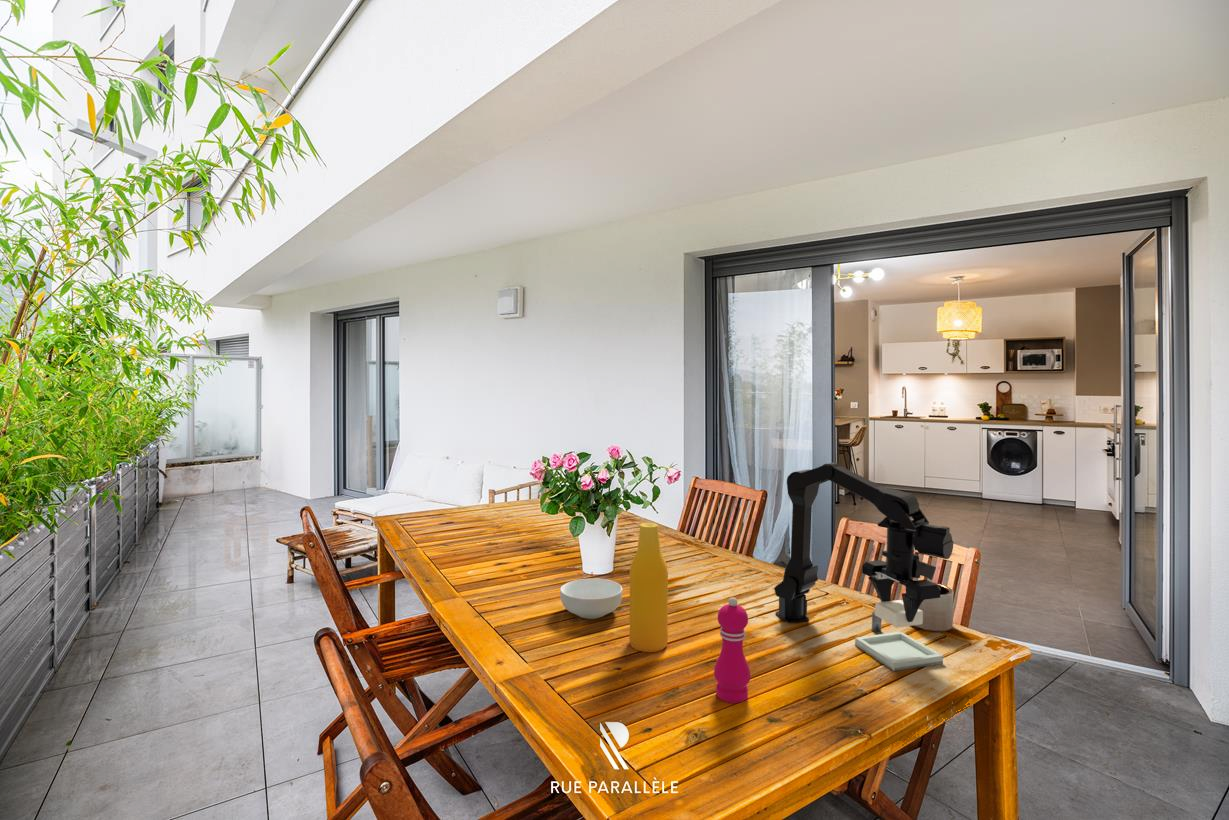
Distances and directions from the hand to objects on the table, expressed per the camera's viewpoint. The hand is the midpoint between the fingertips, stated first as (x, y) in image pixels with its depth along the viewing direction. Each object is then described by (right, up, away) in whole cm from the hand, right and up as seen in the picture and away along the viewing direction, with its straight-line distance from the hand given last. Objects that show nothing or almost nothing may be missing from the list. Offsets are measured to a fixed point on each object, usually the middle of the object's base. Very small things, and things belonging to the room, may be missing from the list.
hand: (898, 615), depth 137 cm
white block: (0, -1, 0) cm, 1 cm away
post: (+1, -8, +13) cm, 16 cm away
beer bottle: (-57, -9, +6) cm, 58 cm away
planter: (+16, -8, +17) cm, 25 cm away
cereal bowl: (-72, -8, +24) cm, 76 cm away
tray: (0, -9, 0) cm, 9 cm away
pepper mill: (-42, -10, -17) cm, 46 cm away
